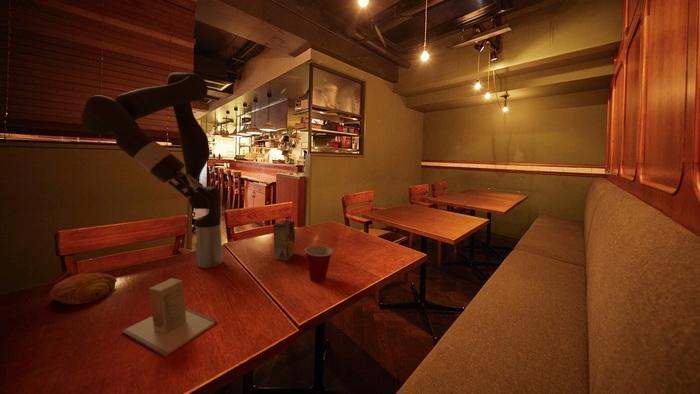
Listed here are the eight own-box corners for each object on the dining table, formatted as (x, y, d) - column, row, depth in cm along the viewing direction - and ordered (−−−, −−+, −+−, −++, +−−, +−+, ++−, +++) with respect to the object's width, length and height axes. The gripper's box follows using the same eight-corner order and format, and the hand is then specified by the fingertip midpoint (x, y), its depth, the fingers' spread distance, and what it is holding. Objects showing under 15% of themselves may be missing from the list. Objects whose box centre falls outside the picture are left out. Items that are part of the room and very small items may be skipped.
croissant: (70, 318, 77) (67, 294, 75) (42, 299, 82) (39, 277, 80) (126, 294, 90) (125, 273, 88) (100, 279, 95) (98, 259, 93)
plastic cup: (335, 284, 97) (336, 253, 95) (306, 287, 94) (306, 255, 92) (329, 271, 108) (329, 243, 106) (302, 274, 105) (302, 245, 103)
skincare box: (176, 317, 74) (172, 277, 72) (187, 321, 73) (184, 279, 71) (152, 331, 68) (147, 287, 66) (163, 335, 67) (159, 291, 65)
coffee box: (282, 252, 127) (282, 220, 125) (295, 253, 126) (295, 221, 124) (273, 259, 119) (273, 224, 116) (286, 260, 117) (286, 226, 115)
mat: (121, 333, 68) (121, 330, 68) (176, 306, 81) (176, 303, 81) (163, 356, 61) (163, 354, 60) (216, 322, 73) (216, 320, 73)
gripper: (162, 152, 67) (214, 196, 72) (177, 153, 80) (220, 189, 86) (139, 173, 66) (194, 215, 71) (158, 170, 79) (203, 205, 85)
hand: (208, 201), depth 78 cm, fingers open, 8 cm apart
